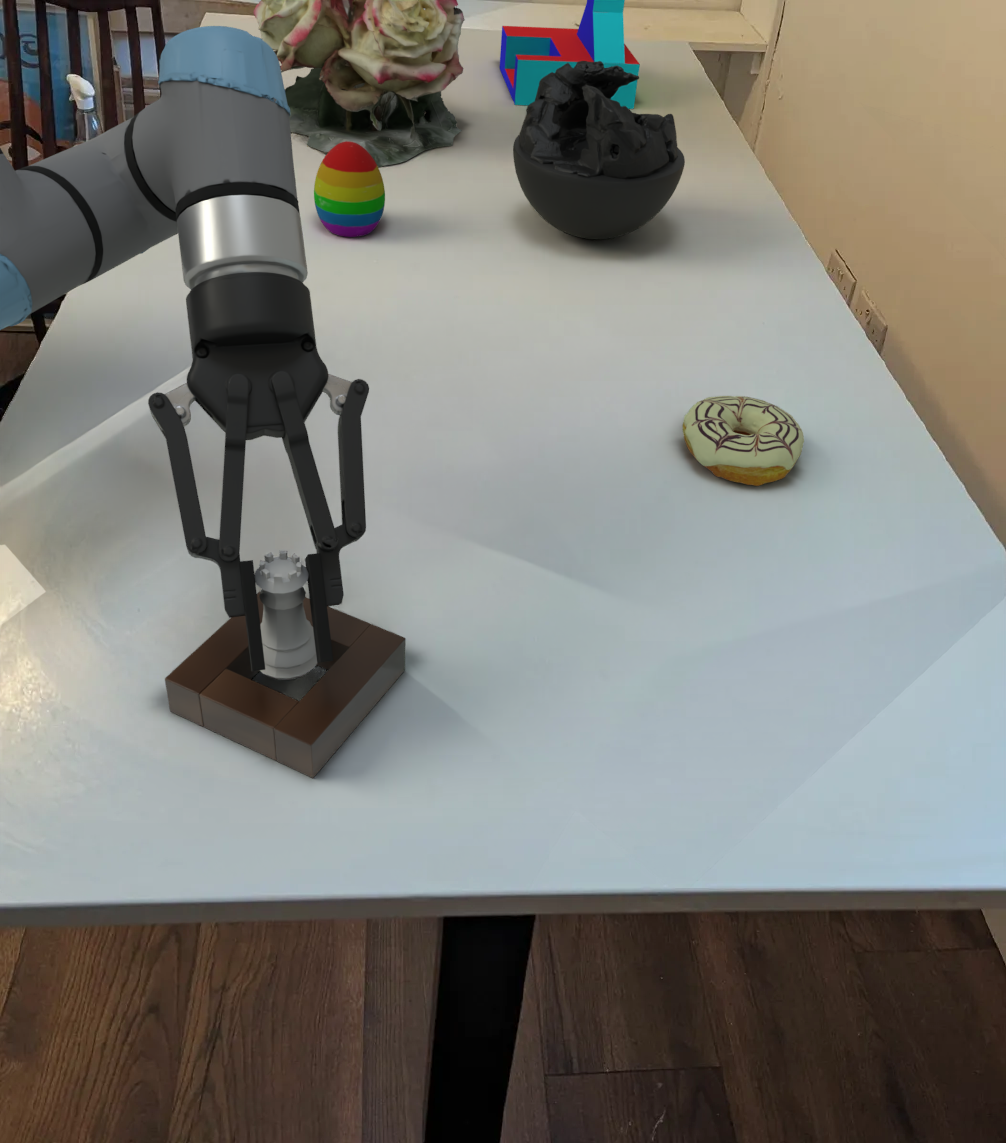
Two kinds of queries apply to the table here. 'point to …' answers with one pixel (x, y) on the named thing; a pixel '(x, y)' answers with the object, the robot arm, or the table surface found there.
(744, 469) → the decorated donut
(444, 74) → the rose bouquet
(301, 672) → the rook chess piece
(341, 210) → the decorative egg
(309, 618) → the brown square frame
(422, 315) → the table surface
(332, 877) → the table surface
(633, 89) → the building blocks toy
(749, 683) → the table surface
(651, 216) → the coal bowl
